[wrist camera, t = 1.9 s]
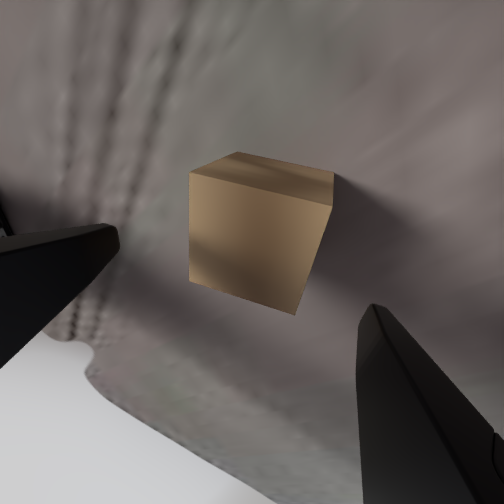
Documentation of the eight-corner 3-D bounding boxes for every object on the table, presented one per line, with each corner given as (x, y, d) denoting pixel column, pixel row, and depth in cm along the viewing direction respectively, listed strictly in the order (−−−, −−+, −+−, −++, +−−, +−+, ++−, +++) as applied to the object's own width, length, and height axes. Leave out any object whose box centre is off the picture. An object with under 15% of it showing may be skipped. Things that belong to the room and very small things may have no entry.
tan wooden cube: (229, 234, 15) (189, 280, 11) (237, 151, 13) (189, 172, 8) (306, 256, 14) (294, 315, 10) (334, 172, 12) (332, 206, 8)
